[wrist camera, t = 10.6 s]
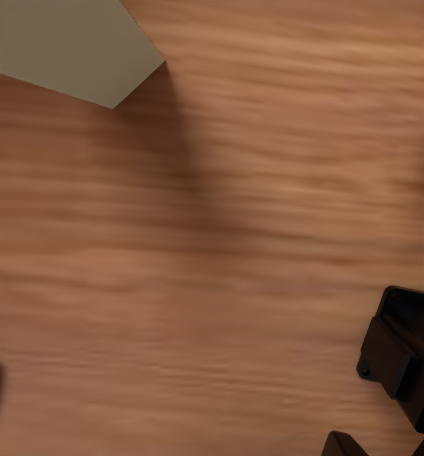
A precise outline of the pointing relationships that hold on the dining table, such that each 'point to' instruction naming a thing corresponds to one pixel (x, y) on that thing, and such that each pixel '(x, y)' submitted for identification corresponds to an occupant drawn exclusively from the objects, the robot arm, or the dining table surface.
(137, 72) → the green post
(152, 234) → the dining table surface
